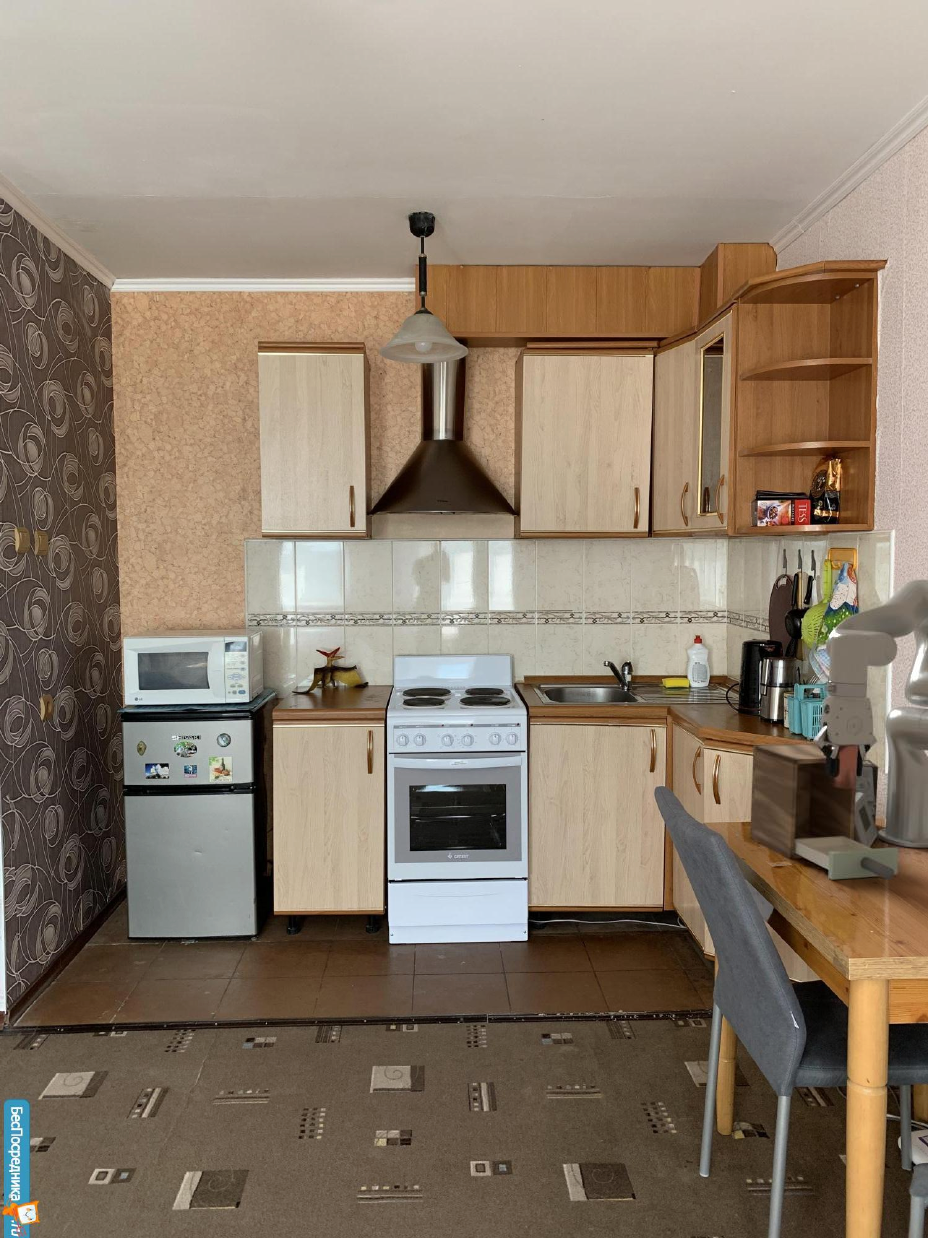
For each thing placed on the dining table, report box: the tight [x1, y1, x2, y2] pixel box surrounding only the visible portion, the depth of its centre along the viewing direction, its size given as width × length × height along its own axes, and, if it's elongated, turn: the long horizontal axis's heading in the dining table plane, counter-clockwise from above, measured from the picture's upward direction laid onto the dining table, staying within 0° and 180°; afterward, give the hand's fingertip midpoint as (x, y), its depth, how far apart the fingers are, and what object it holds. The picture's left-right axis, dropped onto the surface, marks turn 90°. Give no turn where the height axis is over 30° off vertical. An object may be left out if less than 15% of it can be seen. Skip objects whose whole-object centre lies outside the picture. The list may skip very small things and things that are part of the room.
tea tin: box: [830, 745, 858, 789], centre depth 197 cm, size 5×5×10 cm
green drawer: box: [794, 836, 899, 881], centre depth 195 cm, size 16×23×5 cm
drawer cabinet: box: [749, 743, 856, 860], centre depth 211 cm, size 16×16×22 cm
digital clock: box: [854, 792, 878, 848], centre depth 215 cm, size 16×9×11 cm, turn 137°
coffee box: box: [856, 759, 879, 825], centre depth 229 cm, size 9×6×16 cm
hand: (843, 774), depth 197 cm, fingers closed on tea tin, 5 cm apart
